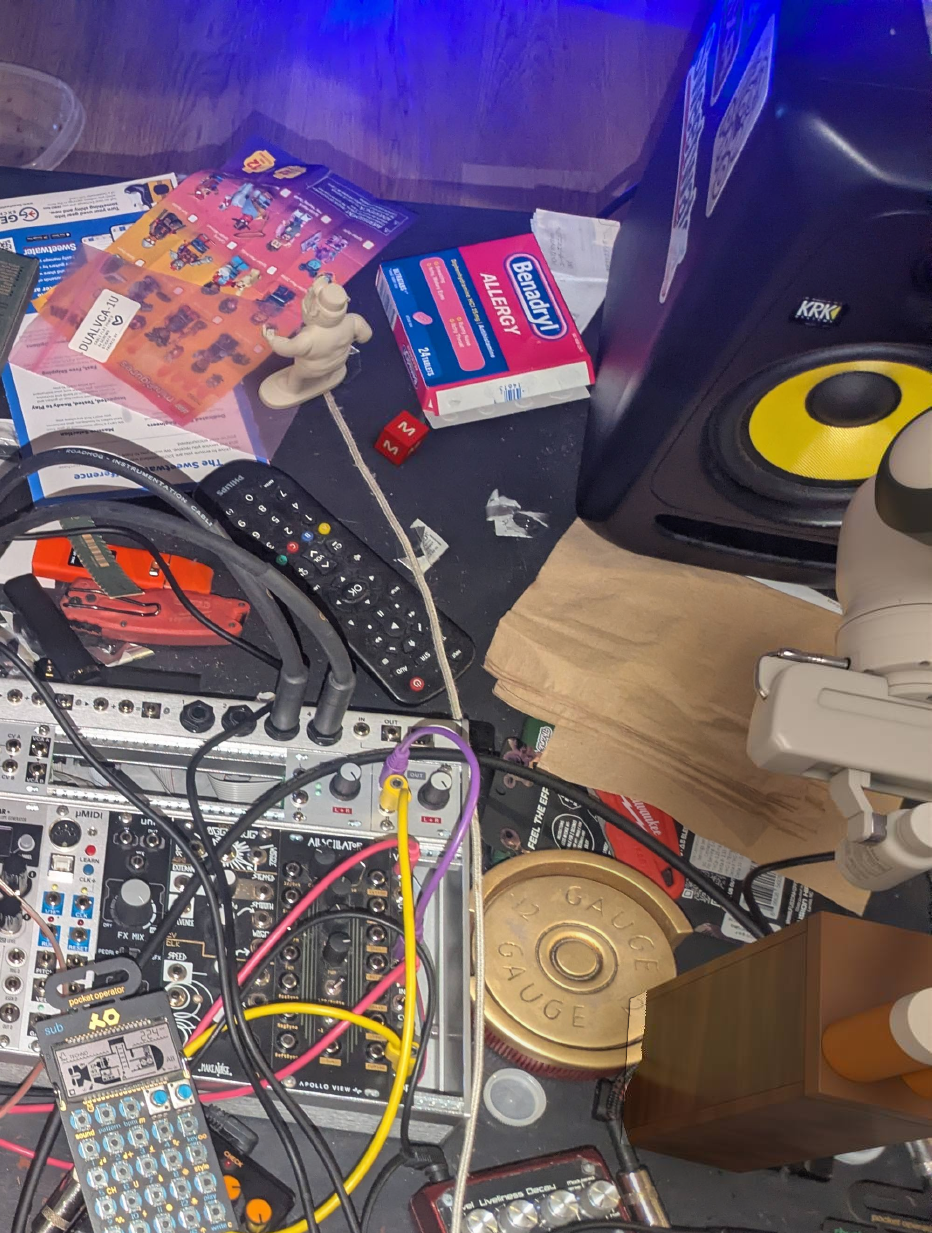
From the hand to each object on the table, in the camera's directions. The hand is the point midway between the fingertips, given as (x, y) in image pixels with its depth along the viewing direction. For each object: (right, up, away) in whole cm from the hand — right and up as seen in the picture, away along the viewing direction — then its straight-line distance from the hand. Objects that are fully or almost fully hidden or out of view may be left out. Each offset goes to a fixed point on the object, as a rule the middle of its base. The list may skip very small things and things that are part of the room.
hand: (912, 851), depth 91 cm
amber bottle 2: (-5, -13, -8) cm, 16 cm away
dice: (-19, +38, +39) cm, 57 cm away
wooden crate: (-5, -19, +16) cm, 26 cm away
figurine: (-28, +45, +42) cm, 67 cm away
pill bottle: (+1, -1, +5) cm, 5 cm away
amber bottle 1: (-9, -12, -8) cm, 17 cm away
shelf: (-6, -11, -5) cm, 14 cm away
